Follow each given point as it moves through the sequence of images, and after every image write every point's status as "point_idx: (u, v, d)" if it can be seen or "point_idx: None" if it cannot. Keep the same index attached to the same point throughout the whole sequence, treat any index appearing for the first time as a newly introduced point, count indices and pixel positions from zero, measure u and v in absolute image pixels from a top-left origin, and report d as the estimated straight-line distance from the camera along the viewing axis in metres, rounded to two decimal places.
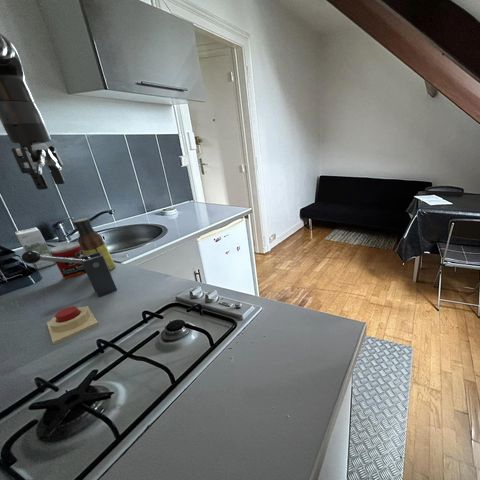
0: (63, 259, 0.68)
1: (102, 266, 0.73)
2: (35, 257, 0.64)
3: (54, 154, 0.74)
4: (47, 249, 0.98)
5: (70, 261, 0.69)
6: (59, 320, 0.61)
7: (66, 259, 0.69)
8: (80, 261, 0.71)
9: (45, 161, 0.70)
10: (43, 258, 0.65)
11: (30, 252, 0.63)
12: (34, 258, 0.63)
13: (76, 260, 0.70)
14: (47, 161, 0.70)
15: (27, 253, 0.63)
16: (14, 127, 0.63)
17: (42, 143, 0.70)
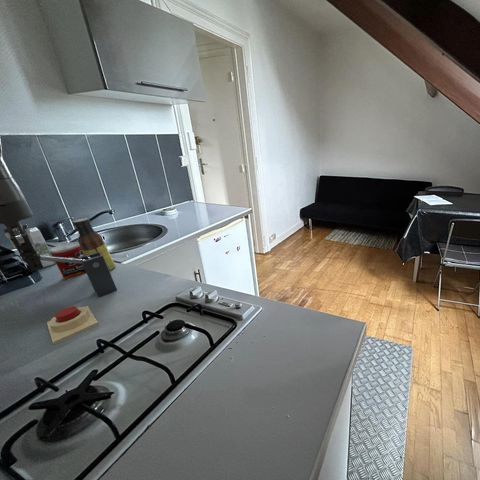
0: (63, 259, 0.68)
1: (102, 266, 0.73)
2: None
3: None
4: (47, 249, 0.98)
5: (70, 261, 0.69)
6: (59, 320, 0.61)
7: (66, 259, 0.69)
8: (80, 261, 0.71)
9: None
10: (43, 258, 0.65)
11: None
12: None
13: (76, 260, 0.70)
14: None
15: None
16: (1, 208, 0.56)
17: None
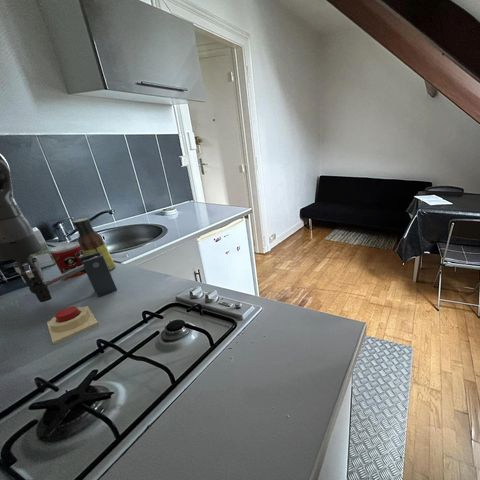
0: (65, 274, 0.69)
1: (102, 266, 0.73)
2: None
3: None
4: (47, 249, 0.98)
5: (73, 272, 0.70)
6: (59, 320, 0.61)
7: (68, 273, 0.70)
8: (81, 268, 0.71)
9: None
10: (49, 283, 0.67)
11: None
12: None
13: (77, 269, 0.71)
14: None
15: None
16: (12, 245, 0.59)
17: None
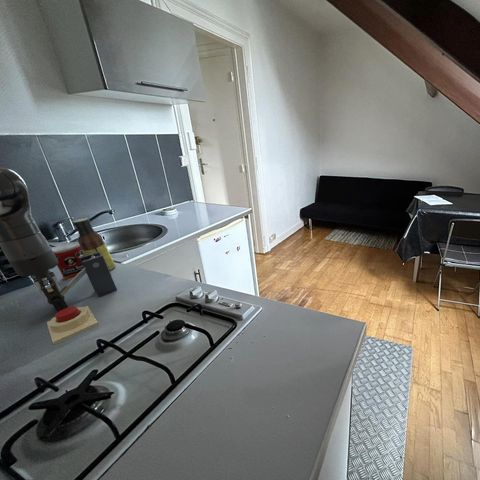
0: (73, 281, 0.71)
1: (102, 266, 0.73)
2: None
3: None
4: None
5: (79, 277, 0.71)
6: (59, 320, 0.61)
7: (75, 279, 0.71)
8: (85, 271, 0.72)
9: (54, 284, 0.68)
10: (62, 292, 0.69)
11: None
12: None
13: (81, 273, 0.72)
14: (54, 283, 0.69)
15: None
16: (31, 261, 0.62)
17: None
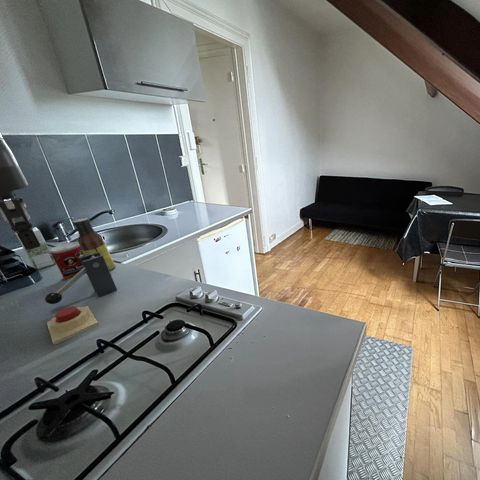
0: (72, 280, 0.70)
1: (102, 266, 0.73)
2: (55, 297, 0.68)
3: None
4: (47, 249, 0.98)
5: (79, 277, 0.71)
6: (59, 320, 0.61)
7: (74, 278, 0.71)
8: (84, 270, 0.72)
9: None
10: (61, 292, 0.69)
11: (47, 297, 0.67)
12: (55, 298, 0.68)
13: (81, 272, 0.71)
14: None
15: (46, 300, 0.67)
16: None
17: None
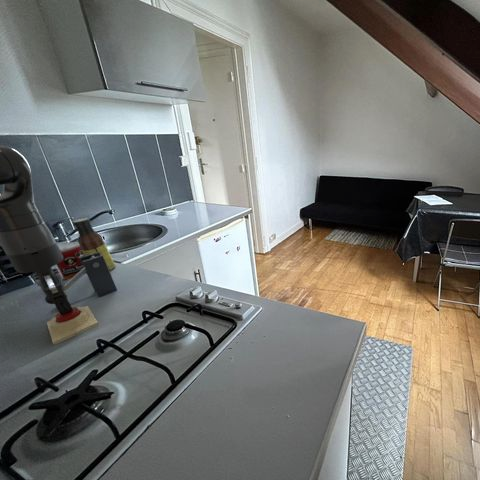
0: (72, 280, 0.70)
1: (102, 266, 0.73)
2: None
3: None
4: None
5: (79, 277, 0.71)
6: (59, 321, 0.61)
7: (74, 278, 0.71)
8: (84, 270, 0.72)
9: (58, 282, 0.60)
10: None
11: (47, 297, 0.67)
12: None
13: (81, 272, 0.71)
14: None
15: (46, 300, 0.67)
16: (33, 256, 0.53)
17: None
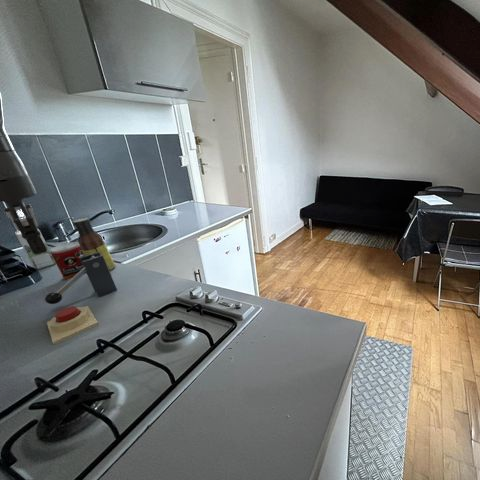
0: (72, 280, 0.70)
1: (102, 266, 0.73)
2: (55, 297, 0.68)
3: None
4: (47, 249, 0.98)
5: (79, 277, 0.71)
6: (59, 320, 0.61)
7: (74, 278, 0.71)
8: (84, 270, 0.72)
9: None
10: (61, 292, 0.69)
11: (47, 297, 0.67)
12: (55, 298, 0.68)
13: (81, 272, 0.71)
14: None
15: (46, 300, 0.67)
16: (2, 183, 0.51)
17: None
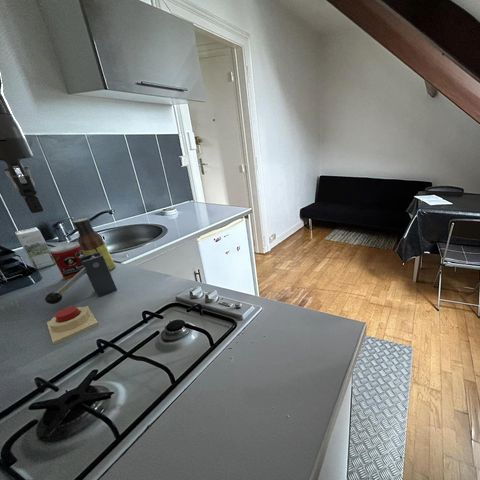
0: (72, 280, 0.70)
1: (102, 266, 0.73)
2: (55, 297, 0.68)
3: None
4: (47, 249, 0.98)
5: (79, 277, 0.71)
6: (59, 320, 0.61)
7: (74, 278, 0.71)
8: (84, 270, 0.72)
9: None
10: (61, 292, 0.69)
11: (47, 297, 0.67)
12: (55, 298, 0.68)
13: (81, 272, 0.71)
14: None
15: (46, 300, 0.67)
16: (1, 143, 0.56)
17: None
